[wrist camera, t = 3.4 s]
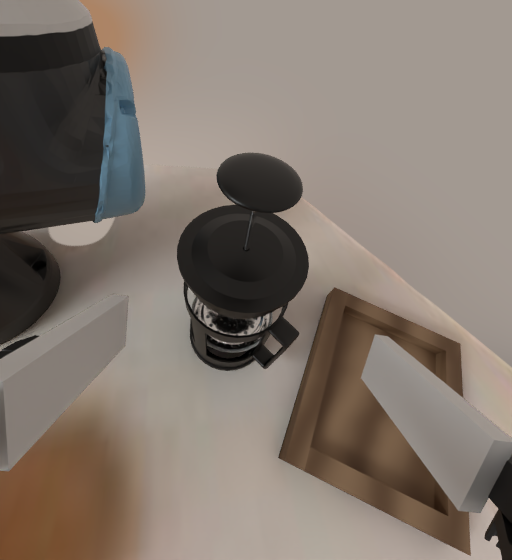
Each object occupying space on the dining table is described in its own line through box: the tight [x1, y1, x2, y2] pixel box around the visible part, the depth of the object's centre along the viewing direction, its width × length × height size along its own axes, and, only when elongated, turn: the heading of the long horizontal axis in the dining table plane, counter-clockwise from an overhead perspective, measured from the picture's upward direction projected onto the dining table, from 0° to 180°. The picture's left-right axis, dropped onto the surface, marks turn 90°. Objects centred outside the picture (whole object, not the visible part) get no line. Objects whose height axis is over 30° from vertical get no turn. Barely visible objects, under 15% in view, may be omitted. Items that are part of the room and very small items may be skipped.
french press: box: [177, 153, 309, 371], centre depth 21 cm, size 12×9×23 cm
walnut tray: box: [278, 287, 471, 556], centre depth 29 cm, size 18×21×2 cm
